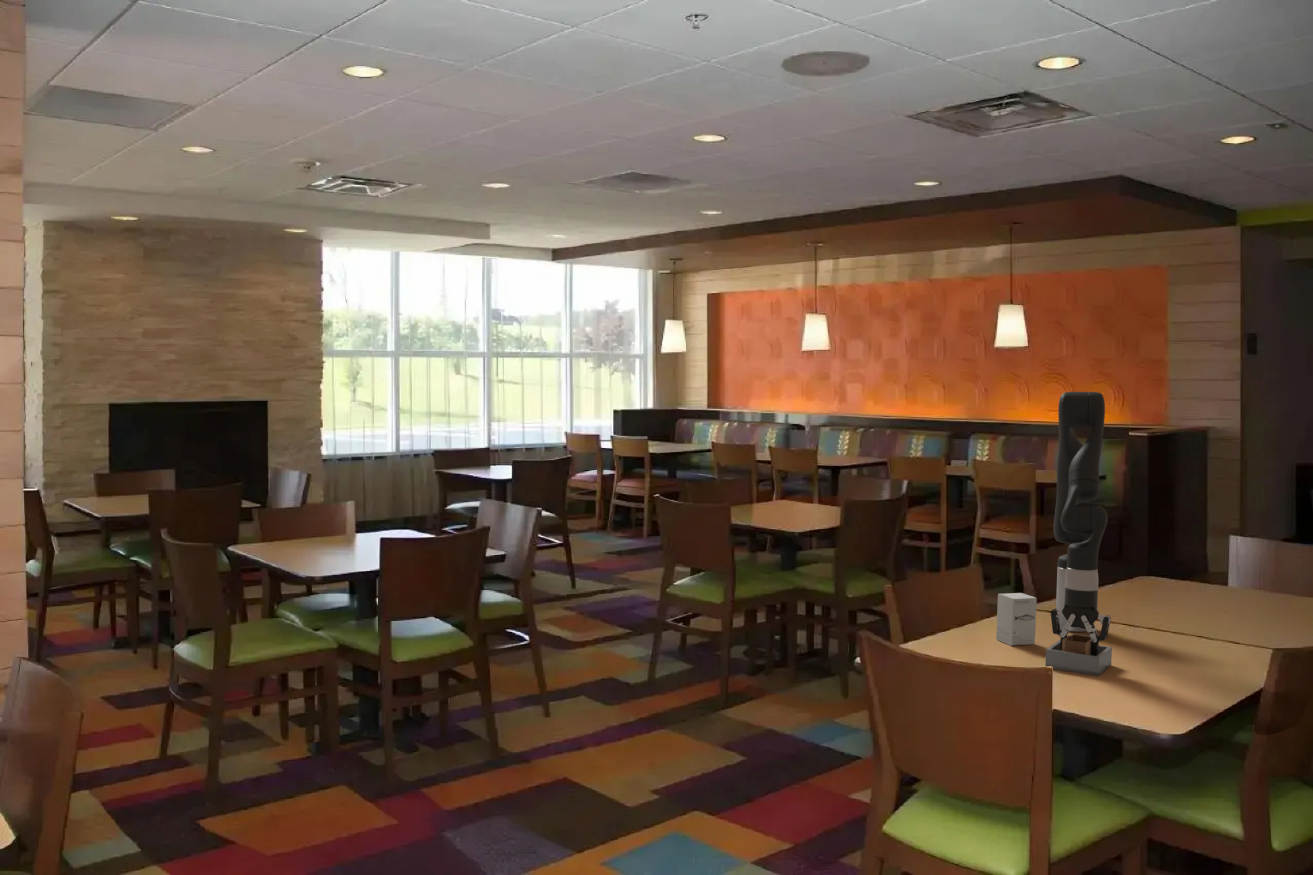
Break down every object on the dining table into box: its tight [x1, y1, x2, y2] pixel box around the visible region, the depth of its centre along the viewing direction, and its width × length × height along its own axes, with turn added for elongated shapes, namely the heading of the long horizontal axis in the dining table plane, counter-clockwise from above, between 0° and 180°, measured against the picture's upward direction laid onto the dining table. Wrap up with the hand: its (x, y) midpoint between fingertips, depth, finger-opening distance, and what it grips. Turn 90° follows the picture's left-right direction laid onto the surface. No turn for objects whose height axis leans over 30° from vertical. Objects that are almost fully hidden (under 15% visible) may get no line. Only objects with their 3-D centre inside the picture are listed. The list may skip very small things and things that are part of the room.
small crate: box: [1062, 633, 1092, 655], centre depth 272 cm, size 8×6×4 cm
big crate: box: [1044, 639, 1113, 677], centre depth 272 cm, size 12×12×4 cm
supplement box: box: [995, 592, 1037, 647], centre depth 296 cm, size 7×7×13 cm
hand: (1078, 654), depth 272 cm, fingers closed on small crate, 6 cm apart
